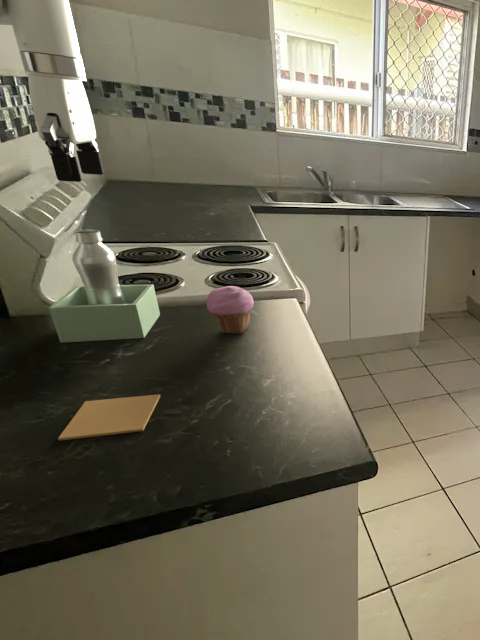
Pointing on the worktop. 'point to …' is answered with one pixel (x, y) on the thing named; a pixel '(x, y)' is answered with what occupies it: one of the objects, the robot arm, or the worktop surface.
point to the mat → (110, 417)
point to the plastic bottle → (97, 269)
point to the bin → (105, 315)
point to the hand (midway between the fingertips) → (82, 177)
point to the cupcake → (230, 308)
